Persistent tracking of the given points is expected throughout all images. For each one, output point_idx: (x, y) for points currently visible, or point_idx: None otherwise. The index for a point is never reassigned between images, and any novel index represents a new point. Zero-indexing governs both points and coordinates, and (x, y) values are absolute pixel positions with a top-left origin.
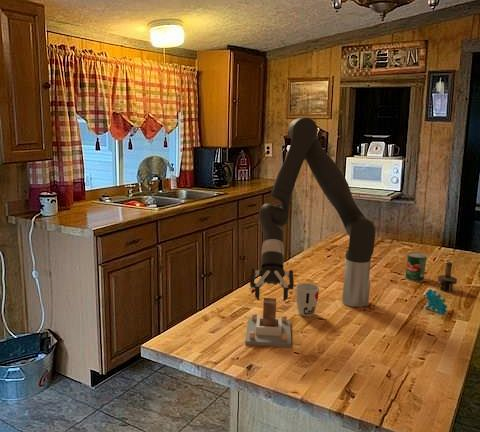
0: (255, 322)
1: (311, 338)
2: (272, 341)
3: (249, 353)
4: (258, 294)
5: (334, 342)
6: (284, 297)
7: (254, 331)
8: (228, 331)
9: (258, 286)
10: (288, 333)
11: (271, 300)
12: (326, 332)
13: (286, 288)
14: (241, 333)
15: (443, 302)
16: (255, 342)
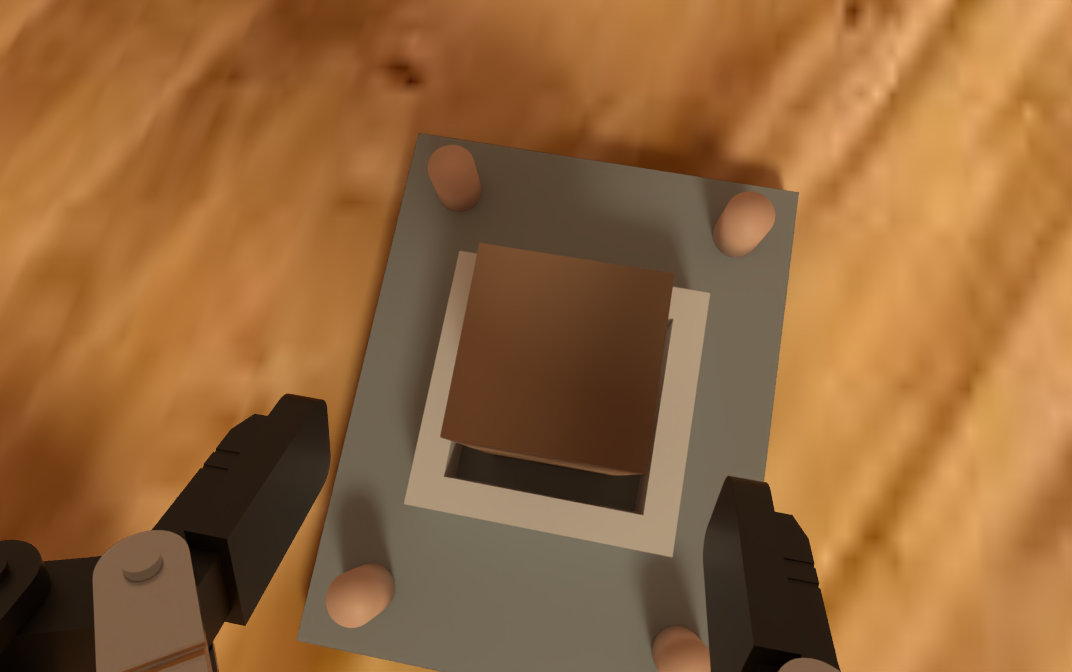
0: (670, 585)
1: (212, 295)
2: (565, 176)
3: (760, 72)
4: (750, 514)
5: (54, 220)
6: (300, 405)
7: (701, 373)
8: (933, 466)
9: (782, 667)
10: (392, 321)
11: (534, 354)
12: (39, 404)
13: (168, 548)
14: (810, 418)
15: None
16: (709, 181)
